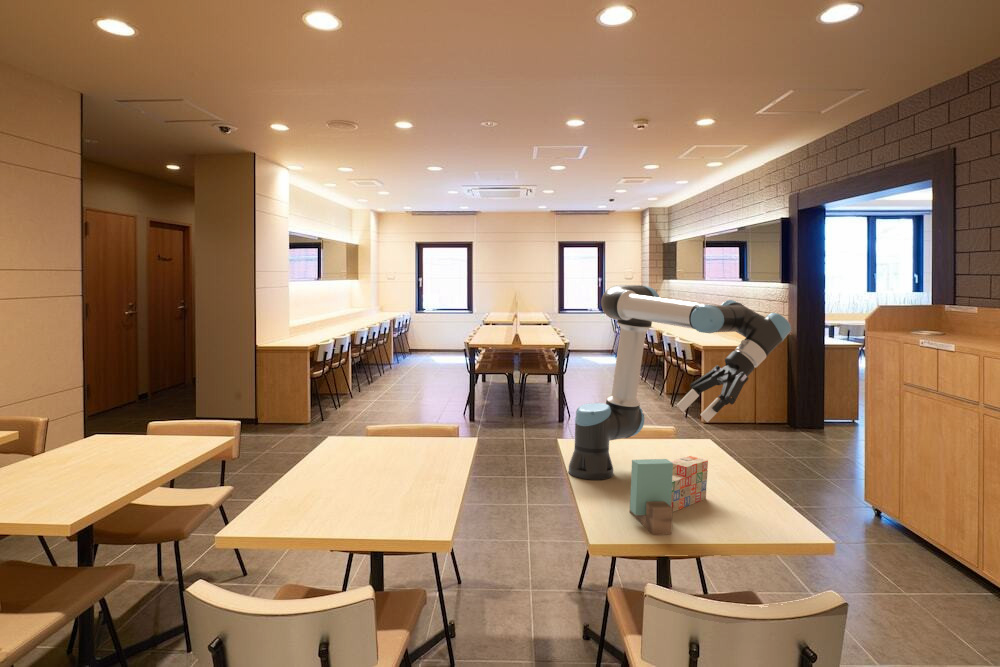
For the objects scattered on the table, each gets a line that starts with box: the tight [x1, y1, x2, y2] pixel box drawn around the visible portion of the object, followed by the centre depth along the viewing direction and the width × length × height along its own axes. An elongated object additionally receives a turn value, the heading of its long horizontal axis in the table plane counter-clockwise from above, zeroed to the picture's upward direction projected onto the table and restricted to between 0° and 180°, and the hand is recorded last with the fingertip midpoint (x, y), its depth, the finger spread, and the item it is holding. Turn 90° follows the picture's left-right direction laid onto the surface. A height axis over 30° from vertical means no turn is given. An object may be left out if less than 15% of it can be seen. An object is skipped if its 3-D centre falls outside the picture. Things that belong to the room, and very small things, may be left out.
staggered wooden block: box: [629, 489, 673, 536], centre depth 167 cm, size 16×5×7 cm, turn 10°
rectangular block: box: [629, 458, 673, 515], centre depth 167 cm, size 4×10×14 cm, turn 100°
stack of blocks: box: [670, 455, 709, 513], centre depth 183 cm, size 21×6×12 cm, turn 132°
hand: (691, 413), depth 169 cm, fingers open, 13 cm apart
